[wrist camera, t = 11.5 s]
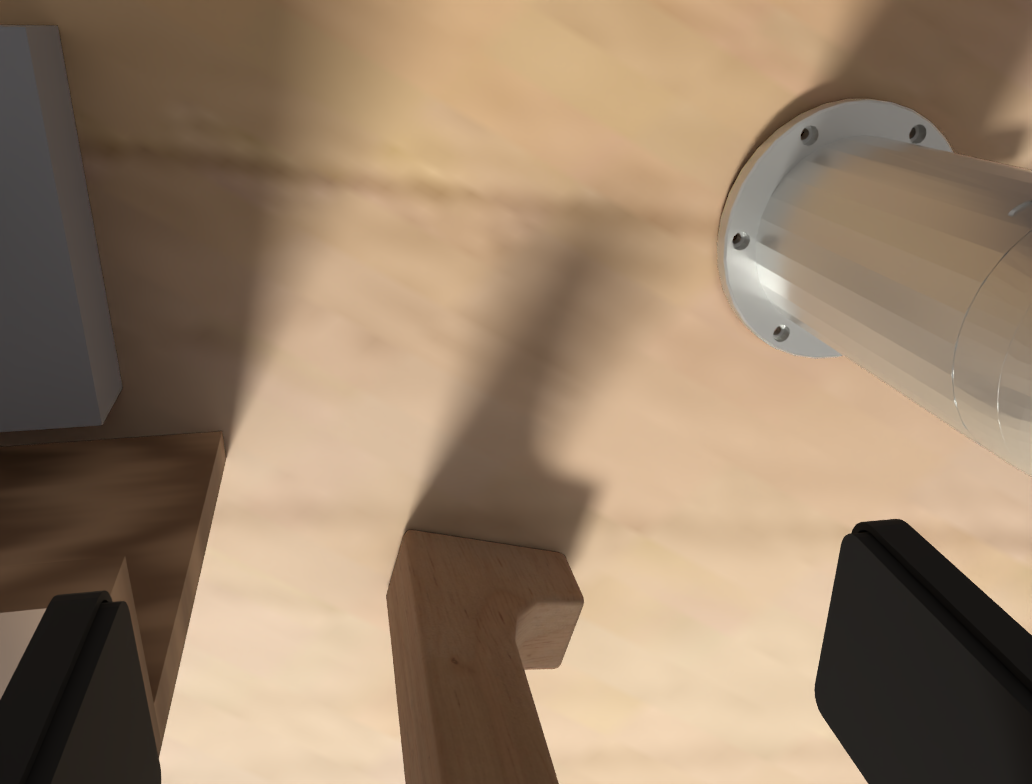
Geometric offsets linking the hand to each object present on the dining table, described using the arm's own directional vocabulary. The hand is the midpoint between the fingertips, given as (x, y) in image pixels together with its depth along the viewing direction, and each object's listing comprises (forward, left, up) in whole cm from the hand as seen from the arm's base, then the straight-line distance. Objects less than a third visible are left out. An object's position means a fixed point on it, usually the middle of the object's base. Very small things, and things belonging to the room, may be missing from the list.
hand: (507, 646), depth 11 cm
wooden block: (-4, +20, -30) cm, 36 cm away
